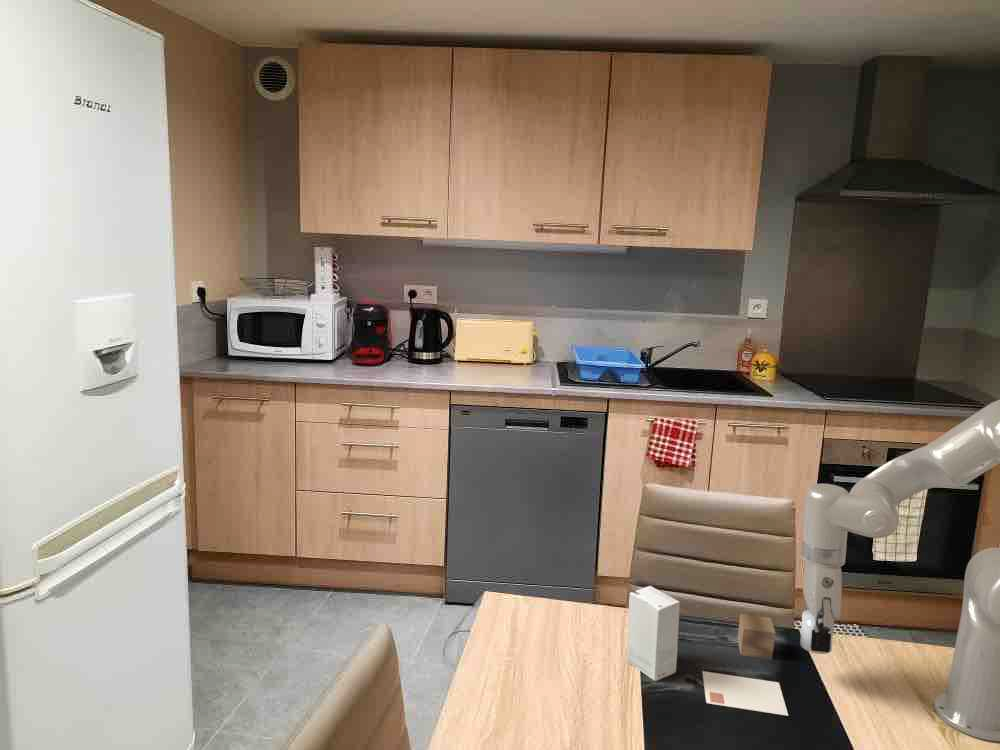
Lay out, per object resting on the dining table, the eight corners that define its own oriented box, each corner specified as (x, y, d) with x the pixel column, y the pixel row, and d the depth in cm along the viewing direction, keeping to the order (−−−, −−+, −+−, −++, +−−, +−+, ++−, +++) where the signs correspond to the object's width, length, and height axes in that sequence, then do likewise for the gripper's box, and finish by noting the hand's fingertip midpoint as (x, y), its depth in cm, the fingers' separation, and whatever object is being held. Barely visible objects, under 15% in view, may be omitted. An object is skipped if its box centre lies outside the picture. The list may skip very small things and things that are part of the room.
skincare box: (676, 674, 143) (683, 602, 140) (653, 683, 140) (660, 610, 137) (645, 652, 150) (651, 583, 147) (622, 660, 147) (629, 590, 144)
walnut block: (767, 644, 155) (770, 618, 154) (771, 660, 149) (775, 633, 148) (737, 640, 156) (740, 613, 155) (740, 656, 151) (743, 628, 149)
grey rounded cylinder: (828, 639, 144) (830, 610, 143) (834, 655, 139) (837, 625, 138) (797, 637, 145) (799, 608, 144) (803, 652, 140) (805, 622, 139)
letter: (778, 683, 142) (778, 682, 142) (788, 716, 132) (788, 715, 132) (702, 672, 144) (702, 671, 144) (706, 703, 135) (706, 702, 135)
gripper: (857, 573, 130) (849, 669, 133) (833, 535, 146) (826, 621, 149) (811, 569, 131) (804, 665, 134) (793, 532, 147) (787, 618, 151)
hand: (816, 641), depth 142 cm, fingers closed on grey rounded cylinder, 5 cm apart
